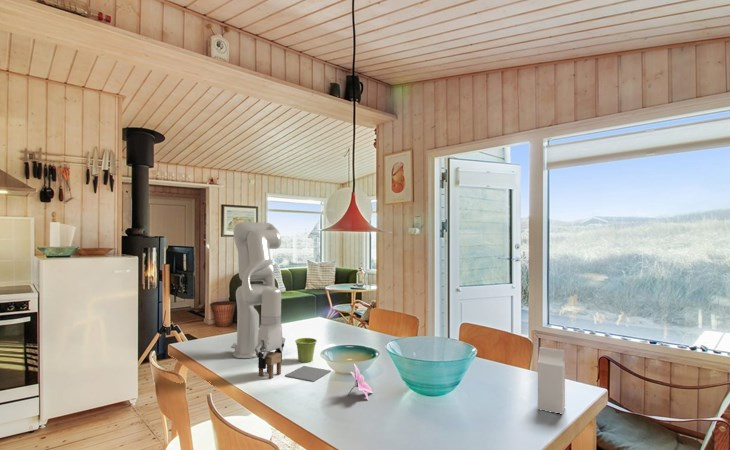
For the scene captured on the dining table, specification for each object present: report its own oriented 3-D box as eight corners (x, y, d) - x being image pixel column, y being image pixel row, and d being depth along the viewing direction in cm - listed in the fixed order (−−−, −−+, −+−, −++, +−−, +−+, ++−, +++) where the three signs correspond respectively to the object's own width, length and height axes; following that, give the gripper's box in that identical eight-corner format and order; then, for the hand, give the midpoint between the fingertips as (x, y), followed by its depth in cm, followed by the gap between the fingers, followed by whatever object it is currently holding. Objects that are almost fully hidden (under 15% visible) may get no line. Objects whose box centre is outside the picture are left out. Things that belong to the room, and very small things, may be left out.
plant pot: (318, 357, 179) (319, 338, 180) (313, 364, 170) (314, 343, 170) (298, 356, 180) (298, 337, 181) (292, 363, 171) (292, 342, 171)
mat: (284, 376, 155) (284, 375, 155) (303, 366, 167) (303, 365, 167) (313, 381, 149) (313, 380, 149) (331, 371, 161) (331, 370, 161)
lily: (353, 409, 128) (369, 383, 129) (329, 386, 135) (344, 361, 136) (372, 408, 138) (386, 384, 138) (348, 387, 145) (362, 364, 145)
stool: (258, 376, 155) (259, 355, 155) (268, 371, 160) (269, 351, 160) (271, 378, 152) (271, 357, 152) (280, 373, 157) (281, 353, 158)
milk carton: (562, 415, 124) (562, 353, 124) (537, 410, 127) (537, 349, 128) (565, 407, 130) (564, 348, 130) (541, 402, 134) (541, 344, 134)
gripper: (277, 315, 166) (276, 358, 165) (248, 323, 150) (247, 369, 150) (292, 317, 163) (291, 360, 162) (264, 325, 147) (263, 372, 146)
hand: (270, 364), depth 156 cm, fingers open, 9 cm apart
